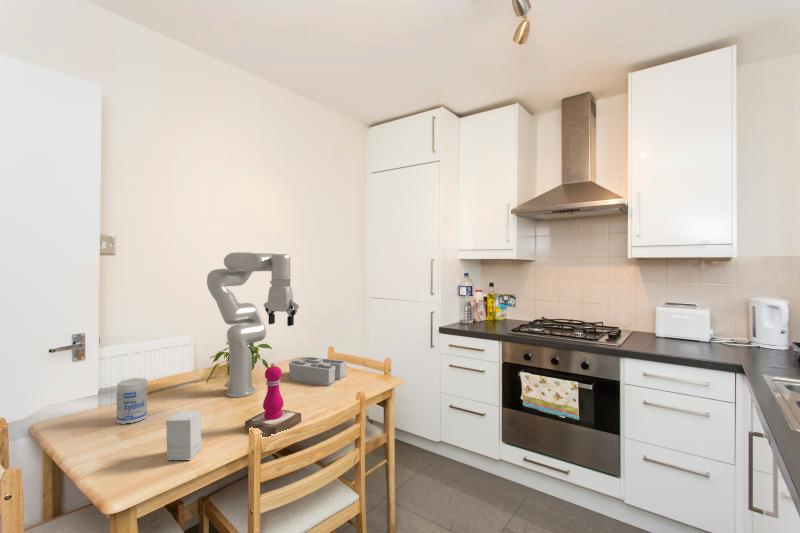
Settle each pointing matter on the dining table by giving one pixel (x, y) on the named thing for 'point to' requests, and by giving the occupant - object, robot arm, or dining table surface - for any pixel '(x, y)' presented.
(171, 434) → the supplement box
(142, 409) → the supplement tub
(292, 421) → the base
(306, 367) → the grey hollow block
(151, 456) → the dining table surface
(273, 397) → the pepper mill
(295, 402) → the dining table surface
